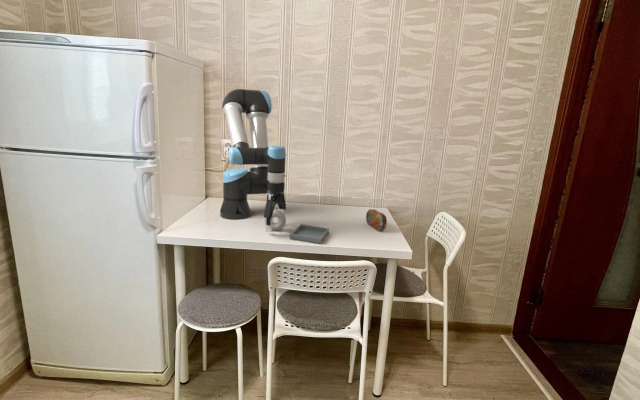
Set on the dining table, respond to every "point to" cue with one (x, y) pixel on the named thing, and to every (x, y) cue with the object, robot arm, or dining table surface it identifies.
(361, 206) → the dining table surface
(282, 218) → the donut
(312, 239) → the tray
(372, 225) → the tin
